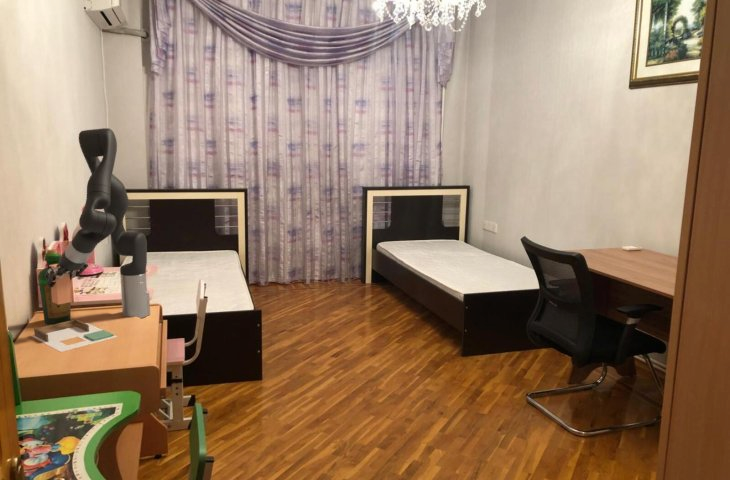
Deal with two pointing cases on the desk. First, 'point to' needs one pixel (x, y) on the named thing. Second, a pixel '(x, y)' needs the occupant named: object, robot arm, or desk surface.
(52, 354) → the desk surface
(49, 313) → the bottle
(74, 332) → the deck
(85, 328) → the tray
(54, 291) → the post
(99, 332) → the pad
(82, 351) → the desk surface
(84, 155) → the robot arm
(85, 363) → the desk surface
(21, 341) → the desk surface
